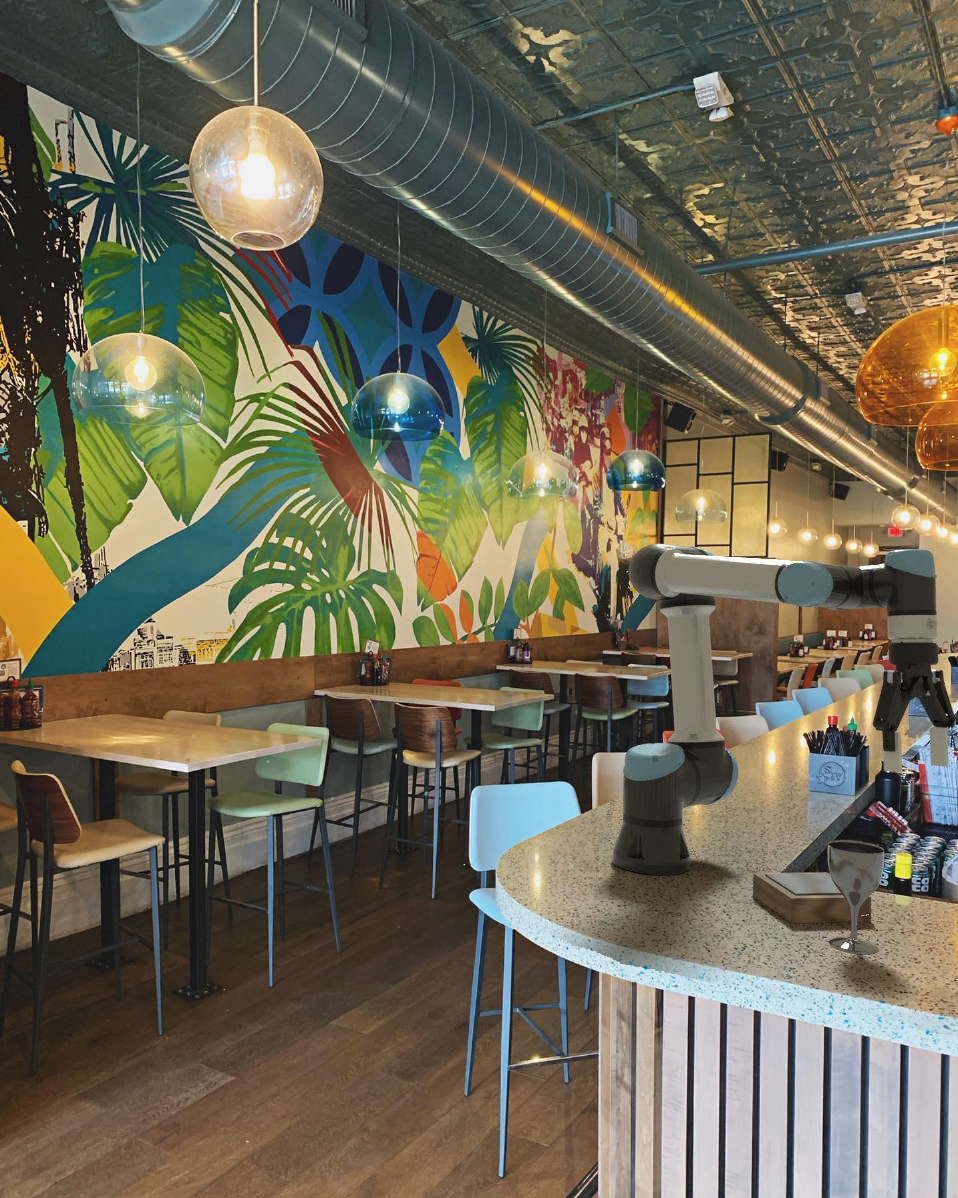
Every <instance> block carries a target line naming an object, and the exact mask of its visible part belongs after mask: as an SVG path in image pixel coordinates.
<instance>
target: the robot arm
mask: <svg viewBox="0 0 958 1198" xmlns="http://www.w3.org/2000/svg"><path fill="white" fill-rule="evenodd" d="M628 578H629V581H630V584H631V586H632V588H633V589H634V590H635V592H637V593H638V594H639V595H641V596H642V597H645V598H647V599H651V600H659V601H658V602H659V612H660V613H661V614H662V615H664V616H665V617H666V619H667V629H668V641H669V642H668V645H669V646H668V647H669V661H670V675H671V677H670V678H671V690H672V691H671V692H672V707H673V722H674V723H673V725H674V732H673V733H672V734H671V736H670V737H669V738H668V739H667V742H655V743H643V744H639V745H638V744H637V745H636V746H633V747H631V748H629V749H628V750H627V752H626V753H625V756H624V764H623V765H624V766H623V771H622V773H623V783H622V784H623V785H622V786H623V793H622V794H623V795H622V797H623V799H622V801H623V802H622V823H621V824H622V825H621V826H620V830H619V833H618V835H617V838H616V842H615V845H614V847H613V850H612V863H613V864H614V865H615V866H616V867H618V868H620V869H624V870H626V871H630V872H632V873H633V872H634V873H639V874H645V875H656V876H660V875H661V876H664V875H665V876H667V875H678V874H682V873H686V872H688V871H690V869H691V854H690V849H689V848H688V844H687V839H686V836H685V833H684V829H683V808H689V807H693V806H701V805H704V806H705V805H706V806H708V805H713V804H715V803H717V802H721V801H723V800H725V799H727V798H728V797H729V796H730V795H731V794H732V793H733V791H734V790H735V789H736V786H737V783H738V781H739V766H738V762H737V760H736V757H735V756H733V755H732V752H731V751H730V750H729V748H726V740H725V739H726V738H725V737H724V736H723V735H722V734H721V733H720V732H719V731H718V729H717V717H716V714H717V713H716V702H715V700H716V699H715V688H714V687H715V686H714V673H713V657H712V643H711V641H712V640H711V627H710V616H711V614H712V613H713V612H714V611H715V609H716V608H717V606H716V599H717V598H725V599H726V598H727V599H728V598H729V599H736V600H737V599H739V600H746V601H748V600H749V601H758V602H768V603H775V604H776V603H777V604H785V605H792V606H795V607H801V608H813V607H814V608H815V607H817V608H826V609H829V610H838V611H850V610H859V609H861V610H862V609H872V608H873V609H875V608H886V612H887V613H886V614H887V639H889V640H891V642H890V643H889V644H888V645H887V646H888V649H887V650H888V663H889V664H890V665H891V666H895V667H896V668H895V670H884V671H883V674H882V686H881V689H880V692H879V693H880V694H879V698H878V700H877V701H878V702H877V704H876V705H877V706H876V708H875V714H874V718H873V720H872V726H873V728H875V730H876V731H878V732H879V731H880V732H882V733H881V734H882V749H883V750H882V751H883V772H888V773H889V772H890V773H900V774H901V773H903V756H902V755H903V753H902V752H903V751H902V732H901V731H898V729H899V727H900V725H901V722H902V720H903V718H904V715H905V714H906V711H907V709H908V706H909V704H910V702H911V701H912V700H914V699H915V698H917V699H919V702H920V703H921V705H922V707H923V709H924V711H925V712H926V713H925V714H926V715H927V717H928V718H929V720H930V722H931V724H932V726H930V727H929V748H930V749H929V750H930V753H929V755H930V766H937V767H944V768H945V767H949V766H950V765H949V741H948V740H949V738H948V737H949V734H948V728H955V727H954V726H955V722H956V720H957V719H956V715H955V712H954V709H953V706H952V703H951V700H950V697H949V693H948V691H947V688H946V683H945V678H944V676H945V675H944V671H943V670H942V669H932V666H933V665H935V666H936V665H938V664H939V645H938V644H937V642H934V640H936V639H937V638H938V625H939V622H938V621H937V592H936V591H937V588H936V585H937V584H936V578H937V574H936V566H935V558H934V554H933V553H932V552H931V551H930V550H927V549H921V548H920V549H919V548H913V549H910V548H908V549H907V548H906V549H896V550H891V551H888V552H887V553H886V555H885V560H884V563H881V564H876V565H875V564H874V565H860V566H856V565H855V566H854V565H853V566H851V565H843V564H835V563H834V564H832V563H823V562H816V561H810V560H799V561H796V560H795V561H792V560H779V559H766V558H765V559H762V558H749V557H748V558H747V557H731V556H730V557H729V556H717V555H715V554H714V553H713V552H711V551H709V550H707V549H704V548H699V547H697V546H687V545H686V546H685V545H684V546H683V545H671V544H664V543H651V544H648V545H646V546H643V547H642V548H640V549H639V550H637V551H636V552H635V553H634V555H633V556H632V558H631V559H630V562H629V566H628Z"/></svg>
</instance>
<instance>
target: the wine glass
mask: <svg viewBox="0 0 958 1198" xmlns="http://www.w3.org/2000/svg"><path fill="white" fill-rule="evenodd" d="M827 863H828V871H829V874H830V876H831V879H832V881H833V883H834V884H835V886H836V887H837V889H838V890H839V891H840V892H841V894H842V895H843V896H844V897H845V899H846V901H847V903H848V905H849V908H850V914H851V922H850V935H849V936H843V935H842V936H835V937H834V936H833V937H831V938H830V939H828V944H829V945H830V946H831V947H832V948H835V949H836V950H839V951H842V952H846V953H850V954H855V955H856V954H857V955H873V954H877V953H878V952H879V951H880V948H879V946H878V945H877V944H875V943H873V942H871V941H869V940H866V939H863V938H859V937H858V935H857V933H858V932H857V929H858V928H857V927H858V925H857V924H858V922H857V919H858V913H859V909H860V907H861V905H862V903H863V902H864V901H865V900H866V899H867V898H868V897H869V896H870V897H871V895H872V894H873V893H875V892H876V890H877V889H878V887H879V886H880V884H881V881H882V877H883V873H884V867H885V866H884V864H885V849H884V848H883V847H882V846H879V845H877V844H874V843H870V842H865V841H860V840H859V841H858V840H851V839H850V840H849V839H839V840H838V839H837V840H831V841H829V842H828V844H827ZM848 938H850V939H852V940H850V939H848ZM858 938H859V940H858V941H854V940H857V939H858ZM853 939H854V940H853Z"/></svg>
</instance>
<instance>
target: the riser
mask: <svg viewBox="0 0 958 1198" xmlns="http://www.w3.org/2000/svg"><path fill="white" fill-rule="evenodd" d="M752 874H753V878H752V881H753V882H752V897H753V898H755V899H757V900H758V901H759V902H761V903H762V904H763V905H765V906H766V907H768V908H770V909H771V910H772V911H773V912H775V913H776V914H777V915H779V916H781V917H782V918H783V919H785V920H786V921H787V922H789V923H790V924H805V923H806V924H809V923H810V924H811V923H812V924H814V923H851V914H850V908H849V905H848V903H847V901H846V899H845V897H844V896H843V895H842V894H841V892H840V891H839V890H838V889H837V887H836V886H835V884H834V883H833V881H832V879H831V876H830V872H829V873H828V872H825V871H824V872H822V871H821V872H757V873H756V872H753V873H752ZM866 914H869V915H867V916H861V915H866ZM871 921H872V896H871V895H870V896H869V897H868V898H867V899H866V900H865V901H864V902H863V903H862V905H861V907H860V909H859V913H858V919H857V923H859V922H860V923H862V922H864V923H865V922H867V923H868V922H869V923H871Z"/></svg>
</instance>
